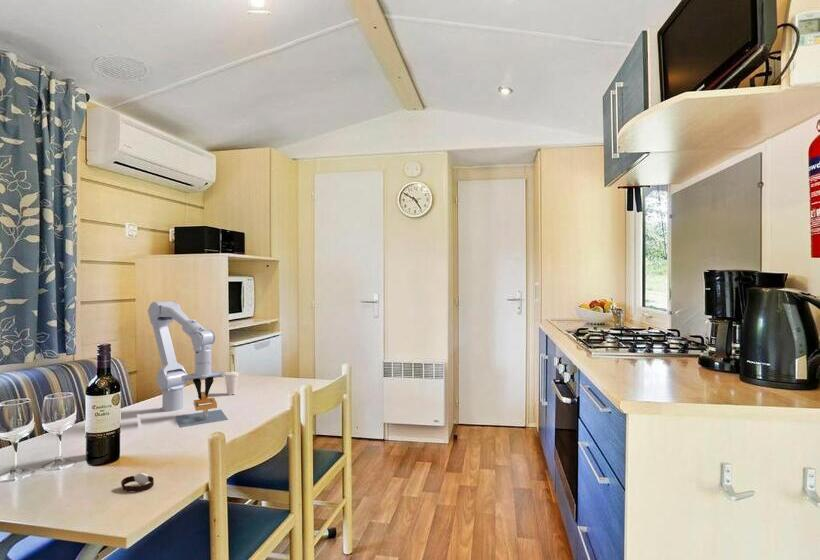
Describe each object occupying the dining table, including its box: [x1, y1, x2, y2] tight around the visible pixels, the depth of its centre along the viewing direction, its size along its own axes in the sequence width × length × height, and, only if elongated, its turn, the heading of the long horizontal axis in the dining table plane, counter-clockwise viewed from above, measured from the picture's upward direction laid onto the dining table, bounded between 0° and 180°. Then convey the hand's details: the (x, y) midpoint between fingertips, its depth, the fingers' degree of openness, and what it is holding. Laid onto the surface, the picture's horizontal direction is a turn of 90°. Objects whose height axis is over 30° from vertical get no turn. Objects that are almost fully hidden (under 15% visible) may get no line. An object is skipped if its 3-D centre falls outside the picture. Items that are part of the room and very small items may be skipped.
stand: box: [175, 409, 229, 429], centre depth 162 cm, size 15×16×5 cm
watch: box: [120, 472, 155, 492], centre depth 110 cm, size 8×5×4 cm, turn 89°
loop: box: [193, 391, 218, 412], centre depth 163 cm, size 12×7×2 cm, turn 33°
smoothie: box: [224, 363, 240, 396], centre depth 200 cm, size 6×6×14 cm
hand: (202, 397), depth 166 cm, fingers closed on loop, 2 cm apart
